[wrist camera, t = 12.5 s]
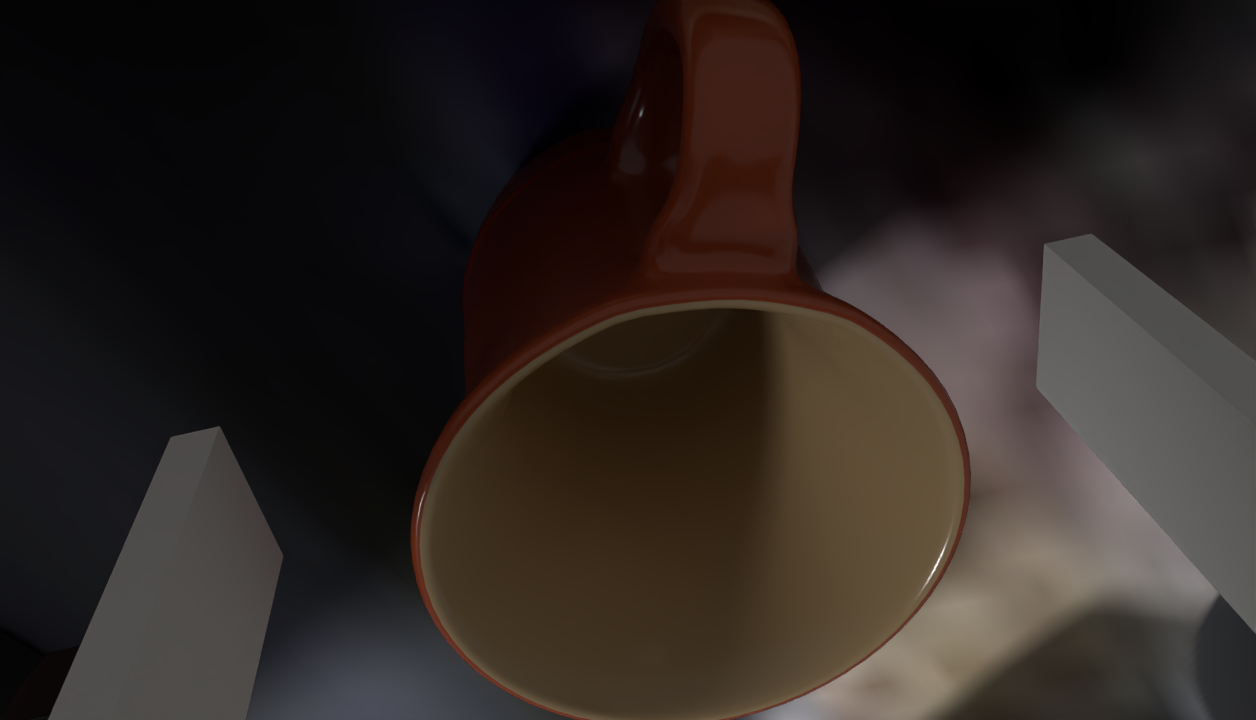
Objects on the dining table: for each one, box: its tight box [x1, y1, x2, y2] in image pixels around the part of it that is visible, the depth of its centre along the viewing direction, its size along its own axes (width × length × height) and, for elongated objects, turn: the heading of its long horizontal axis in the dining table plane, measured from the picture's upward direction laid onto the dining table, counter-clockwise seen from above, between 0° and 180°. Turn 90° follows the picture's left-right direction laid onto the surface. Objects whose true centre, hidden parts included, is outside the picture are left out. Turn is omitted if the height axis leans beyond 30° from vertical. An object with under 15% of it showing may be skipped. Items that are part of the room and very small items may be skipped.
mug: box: [410, 0, 971, 720], centre depth 19 cm, size 12×9×10 cm
